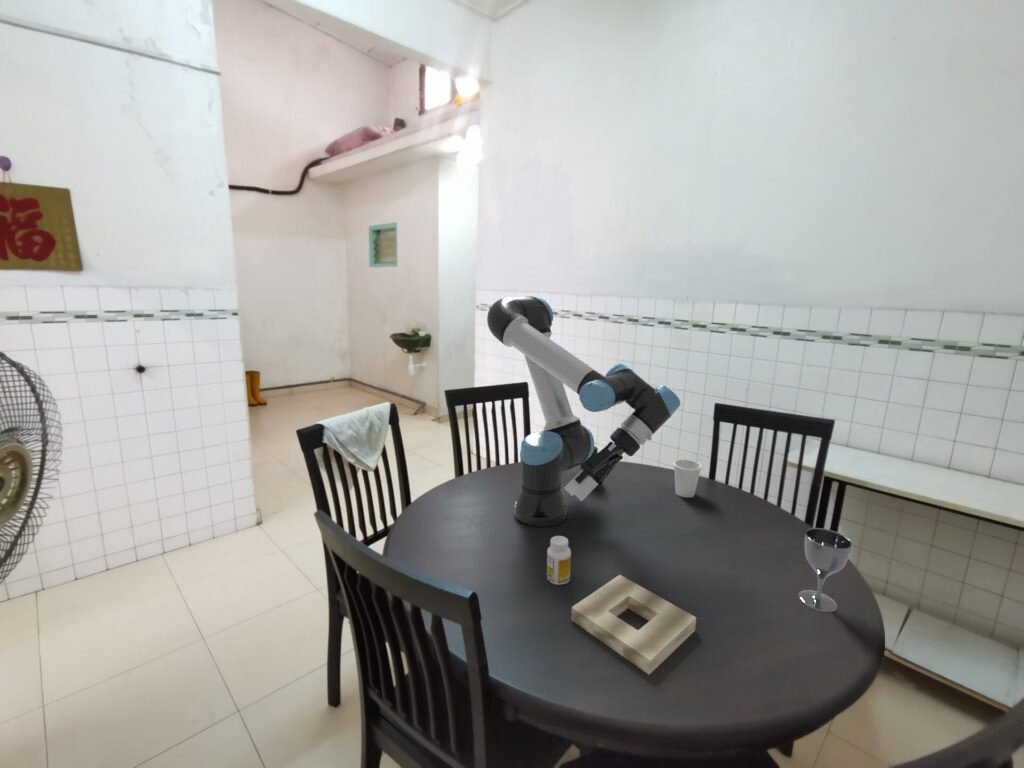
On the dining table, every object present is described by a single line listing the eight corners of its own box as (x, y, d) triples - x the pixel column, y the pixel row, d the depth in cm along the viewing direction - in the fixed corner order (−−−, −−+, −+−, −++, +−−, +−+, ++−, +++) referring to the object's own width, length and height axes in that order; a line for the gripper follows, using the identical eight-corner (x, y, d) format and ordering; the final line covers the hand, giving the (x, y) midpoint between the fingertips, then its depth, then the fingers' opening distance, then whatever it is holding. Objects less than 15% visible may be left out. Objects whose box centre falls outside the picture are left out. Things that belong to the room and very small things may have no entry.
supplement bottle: (572, 573, 111) (573, 536, 109) (567, 587, 106) (568, 548, 104) (549, 569, 113) (550, 532, 110) (543, 582, 108) (544, 544, 106)
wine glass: (840, 619, 97) (852, 553, 93) (795, 604, 101) (805, 541, 97) (839, 597, 103) (850, 534, 100) (796, 584, 107) (806, 524, 104)
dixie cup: (702, 499, 148) (706, 469, 145) (675, 499, 148) (678, 469, 145) (693, 487, 156) (696, 459, 153) (667, 487, 156) (670, 458, 153)
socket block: (571, 619, 96) (571, 607, 95) (619, 586, 107) (619, 574, 106) (649, 674, 83) (650, 660, 82) (694, 630, 93) (696, 617, 93)
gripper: (638, 435, 110) (574, 501, 110) (644, 454, 133) (590, 509, 132) (614, 414, 114) (552, 478, 113) (623, 436, 136) (571, 490, 136)
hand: (572, 495), depth 123 cm, fingers open, 13 cm apart
